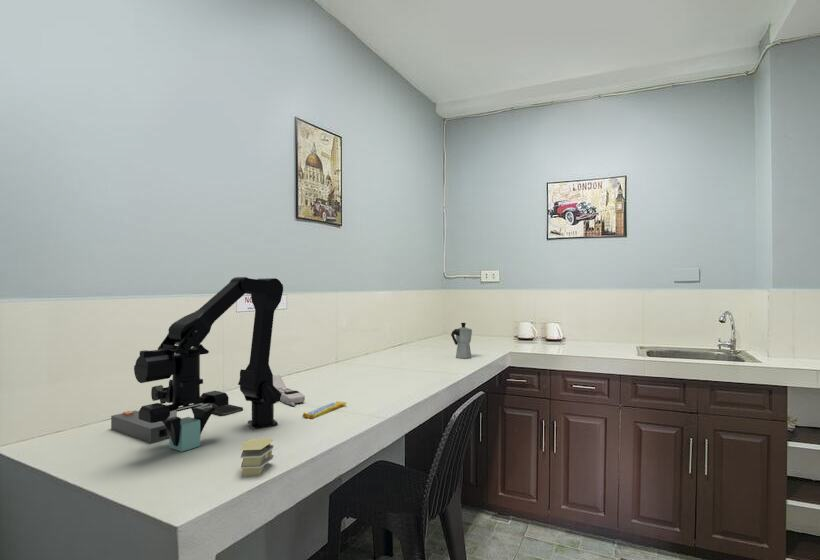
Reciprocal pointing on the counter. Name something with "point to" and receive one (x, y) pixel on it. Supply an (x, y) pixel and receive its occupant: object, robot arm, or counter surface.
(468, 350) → the coffee maker
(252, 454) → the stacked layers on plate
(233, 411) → the phone
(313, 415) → the candy bar
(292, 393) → the mobile phone
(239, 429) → the counter surface
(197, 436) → the block
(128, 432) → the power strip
